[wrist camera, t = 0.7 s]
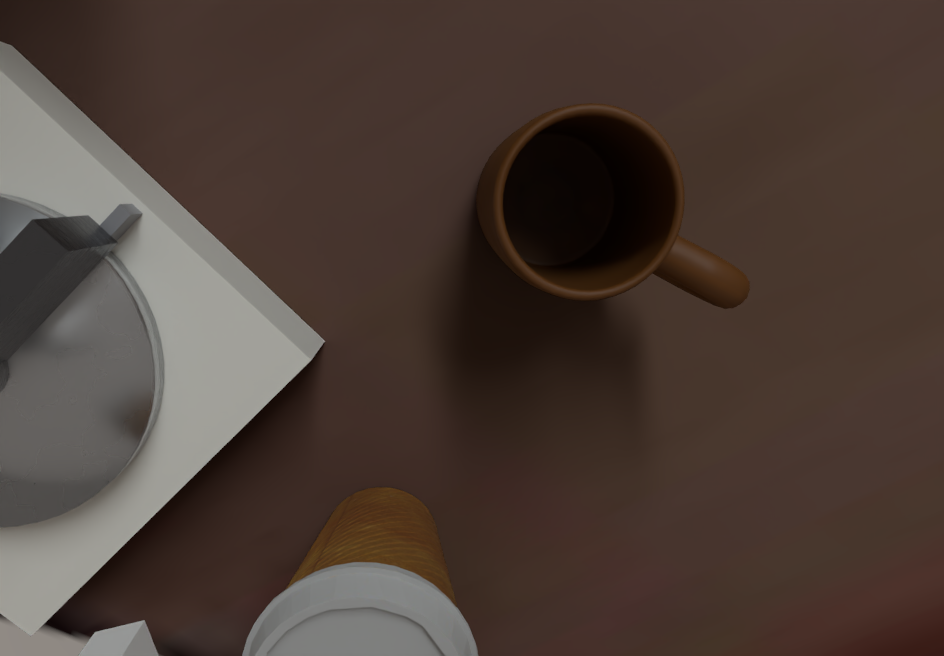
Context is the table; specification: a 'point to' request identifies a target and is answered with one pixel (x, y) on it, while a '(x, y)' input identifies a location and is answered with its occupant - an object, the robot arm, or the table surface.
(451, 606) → the disposable coffee cup
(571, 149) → the mug
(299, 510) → the table surface
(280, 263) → the table surface
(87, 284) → the dial
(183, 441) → the dial housing
